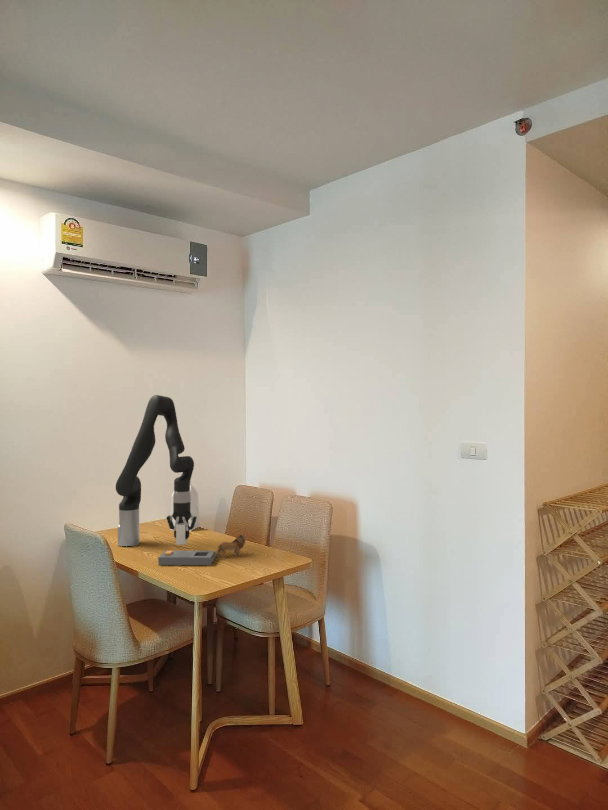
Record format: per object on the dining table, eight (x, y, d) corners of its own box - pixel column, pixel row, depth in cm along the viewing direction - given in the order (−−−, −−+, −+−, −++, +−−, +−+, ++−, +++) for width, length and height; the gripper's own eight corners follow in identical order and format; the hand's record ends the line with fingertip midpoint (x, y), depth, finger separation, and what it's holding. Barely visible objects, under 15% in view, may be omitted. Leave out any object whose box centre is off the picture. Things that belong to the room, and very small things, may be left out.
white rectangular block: (176, 544, 240) (176, 524, 240) (178, 542, 244) (178, 522, 244) (184, 544, 240) (185, 524, 240) (187, 542, 244) (187, 522, 244)
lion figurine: (242, 552, 244) (242, 532, 244) (248, 555, 240) (248, 535, 240) (212, 557, 236) (212, 537, 236) (217, 560, 232) (217, 540, 232)
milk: (169, 530, 286) (169, 481, 285) (179, 525, 297) (179, 478, 296) (190, 531, 283) (190, 482, 282) (199, 526, 294) (199, 479, 294)
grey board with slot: (158, 565, 226) (158, 555, 226) (165, 558, 236) (165, 548, 236) (210, 565, 225) (210, 555, 225) (215, 558, 235) (215, 548, 235)
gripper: (163, 502, 238) (163, 540, 239) (195, 502, 238) (195, 541, 238) (168, 498, 246) (168, 536, 246) (199, 499, 245) (199, 536, 246)
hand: (181, 538), depth 242 cm, fingers closed on white rectangular block, 4 cm apart
